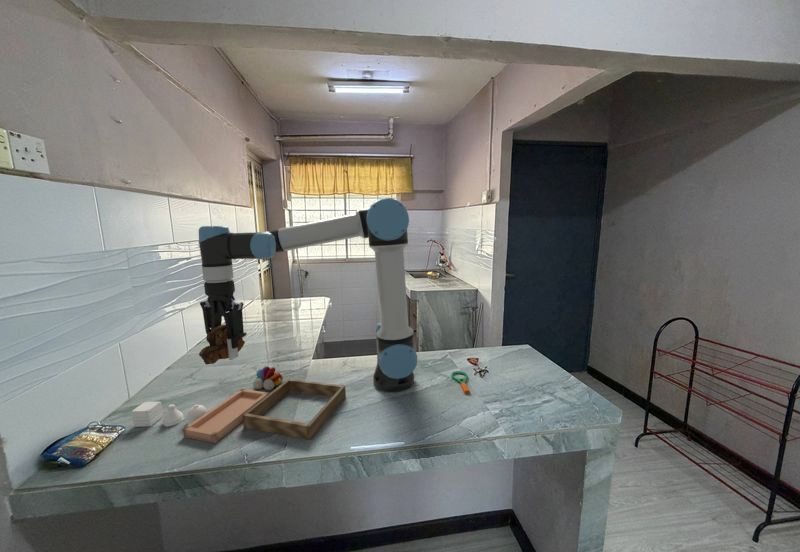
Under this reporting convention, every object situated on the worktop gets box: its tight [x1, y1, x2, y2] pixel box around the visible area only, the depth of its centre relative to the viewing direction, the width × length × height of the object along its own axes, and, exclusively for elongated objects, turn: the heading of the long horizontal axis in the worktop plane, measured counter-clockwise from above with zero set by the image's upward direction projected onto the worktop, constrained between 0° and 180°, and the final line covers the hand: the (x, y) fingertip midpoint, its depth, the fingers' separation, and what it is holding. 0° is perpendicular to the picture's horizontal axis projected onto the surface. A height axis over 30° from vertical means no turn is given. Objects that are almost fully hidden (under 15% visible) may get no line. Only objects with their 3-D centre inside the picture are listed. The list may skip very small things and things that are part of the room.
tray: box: [182, 388, 270, 444], centre depth 96 cm, size 11×22×2 cm, turn 164°
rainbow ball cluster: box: [252, 366, 284, 391], centre depth 114 cm, size 8×10×7 cm
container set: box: [131, 401, 208, 428], centre depth 94 cm, size 20×5×6 cm, turn 90°
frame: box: [242, 378, 347, 441], centre depth 98 cm, size 22×22×4 cm
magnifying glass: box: [450, 370, 471, 395], centre depth 113 cm, size 15×6×2 cm, turn 2°
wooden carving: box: [198, 324, 247, 365], centre depth 92 cm, size 16×5×10 cm, turn 172°
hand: (227, 357), depth 93 cm, fingers closed on wooden carving, 4 cm apart
